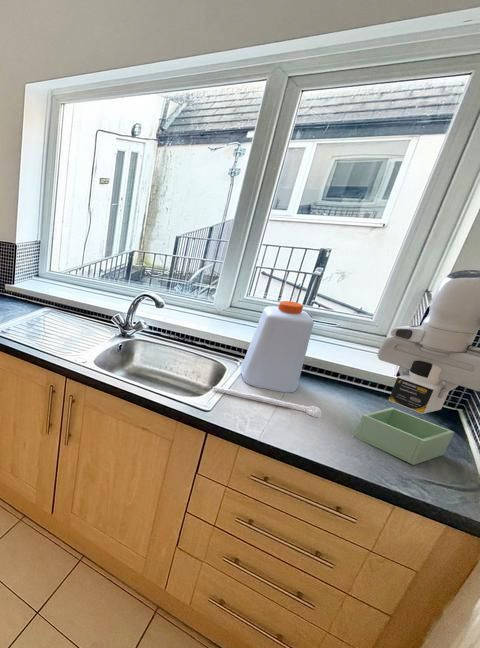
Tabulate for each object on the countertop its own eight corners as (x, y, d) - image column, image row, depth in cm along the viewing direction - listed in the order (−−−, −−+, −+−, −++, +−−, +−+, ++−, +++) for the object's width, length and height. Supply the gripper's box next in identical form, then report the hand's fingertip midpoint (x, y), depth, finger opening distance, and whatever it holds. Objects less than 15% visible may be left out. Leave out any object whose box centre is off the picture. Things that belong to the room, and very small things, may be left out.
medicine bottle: (387, 400, 108) (404, 358, 103) (405, 396, 110) (423, 354, 105) (422, 414, 101) (442, 369, 97) (441, 410, 103) (461, 365, 99)
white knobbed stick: (211, 393, 134) (213, 386, 133) (212, 388, 137) (214, 380, 136) (321, 420, 120) (324, 412, 119) (319, 414, 124) (322, 405, 122)
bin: (443, 454, 106) (454, 431, 103) (413, 465, 102) (424, 441, 99) (383, 428, 117) (392, 407, 114) (353, 436, 113) (362, 414, 110)
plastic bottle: (297, 397, 134) (328, 314, 123) (243, 386, 140) (267, 307, 129) (288, 376, 146) (314, 300, 135) (238, 367, 152) (260, 294, 141)
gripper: (516, 353, 91) (487, 409, 96) (399, 324, 109) (380, 372, 114) (500, 356, 89) (472, 413, 94) (384, 326, 107) (365, 375, 112)
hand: (421, 390), depth 104 cm, fingers closed on medicine bottle, 5 cm apart
